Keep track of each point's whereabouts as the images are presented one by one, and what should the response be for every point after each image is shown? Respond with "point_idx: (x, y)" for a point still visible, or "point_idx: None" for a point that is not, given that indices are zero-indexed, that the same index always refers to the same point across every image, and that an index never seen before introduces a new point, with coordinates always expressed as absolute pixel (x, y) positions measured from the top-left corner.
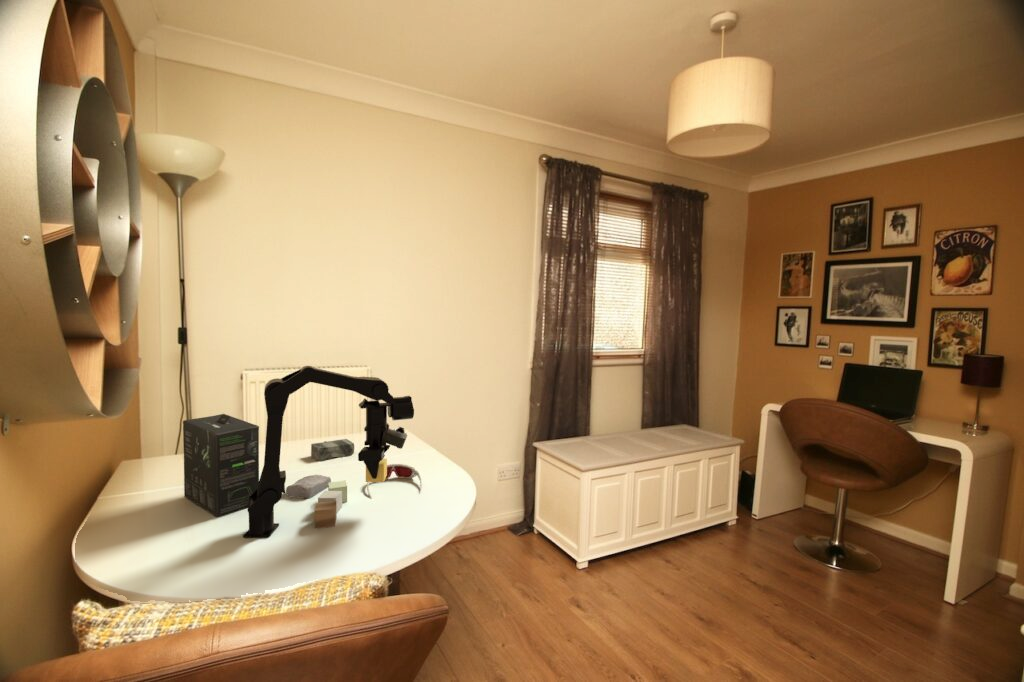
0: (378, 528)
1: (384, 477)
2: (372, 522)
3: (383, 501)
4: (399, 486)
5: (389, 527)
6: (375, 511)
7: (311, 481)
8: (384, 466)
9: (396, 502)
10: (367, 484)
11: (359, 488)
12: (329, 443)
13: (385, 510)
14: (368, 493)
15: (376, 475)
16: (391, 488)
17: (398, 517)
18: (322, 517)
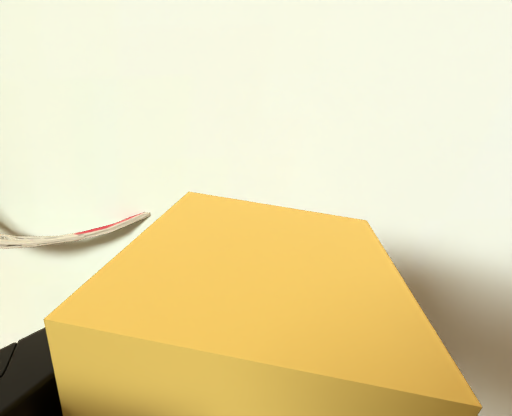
0: (474, 176)
1: (332, 227)
2: (398, 203)
3: (182, 161)
4: (3, 84)
5: (488, 124)
6: (286, 194)
7: None
8: (361, 324)
9: (199, 95)
10: (45, 244)
11: (50, 260)
12: None
13: (285, 149)
14: (108, 229)
15: None
16: (33, 126)
17: (387, 78)
18: None
